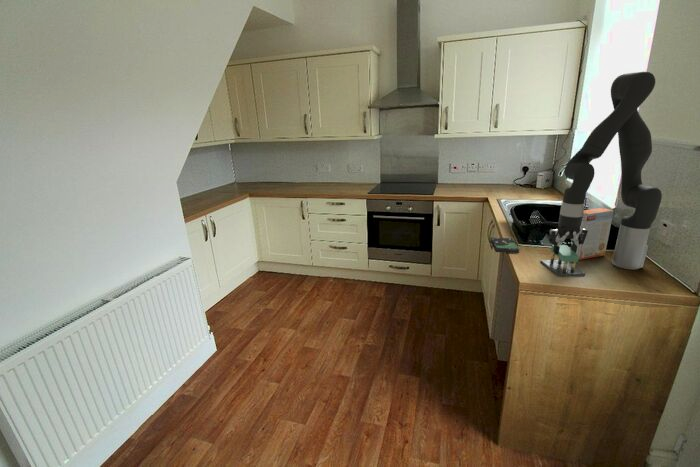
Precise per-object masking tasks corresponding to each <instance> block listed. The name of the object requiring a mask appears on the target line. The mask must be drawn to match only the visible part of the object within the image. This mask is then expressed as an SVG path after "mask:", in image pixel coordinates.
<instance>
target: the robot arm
mask: <svg viewBox="0 0 700 467" xmlns="http://www.w3.org/2000/svg"><path fill="white" fill-rule="evenodd" d="M655 86H656V77H655V75H654V74H653V73H652V72H649V71H637V72H629V73H623V74H619V75H618V76H617V77H615V79H614V80H613V82H612V83H611V87H610V97H611V102H612V105H613V110H612V112H611V113H610V114H609V115H607V117H606V118H604V119H603V120H602V121H601V122H600V123H598V125H597V126H596V127H595V128H593V130H592V131H591V132H590V133H589V135H588V137H587V139H586V140H585V142H584V143H583V145H582V147H581V148H580V149H579V150H578V151H577V152H576V153H575V154H574V155H573V156H572V157H571V158H570V160H569V161H568V162H567V163H566V165H565V167H564V171H563V172H564V173H563V174H564V176H565V177H566V178H567V179H569V180H572V183H571V185H570V186H568V187H566V188H565V190H564V192H563V198H562V204H561V206H560V210H559V218H558V226H557V228H556V229H552V228H550V229H549V230H548V235H549V236H548V242H549V243H550V244H551V245H554V248H553V251H552V253H554V254H556V255H558V253H559V249H560V245H562V243H563V242H565V240H569V239H570V241H571V242H572V243H573V244H571V243H570V244H571V245H570V248H571V249H572V250H573V251H574V252H575V253H576V251H577V246H578V245H579V244H583V243H584V241H585V238H586V235H587V233H588V231H587V230H586V229H584V228H582V229H580V226H581V223H582V217H583V212H584V210H585V201H586V196H587V193H588V190H589V188H590V186H591V184H592V182H593V179H594V177H595V174H596V173H595V167H594V166H593V164H591V162H592V161H593V160H596V159H599V158H601V157H602V156H603V154H604V153H605V151H606V150H607V148H608V147H609V145H610V144H611V142H612V140H613V139H614V137H616V135H617V136H618V150H619V157H620V169H621V170H620V171H621V182H620V183H621V184H620V185H621V186H620V187H621V189H620V190H621V191H620V197H621V201H622V203H623V204H624V205H625V206H627V207H629V208H632V209H634V211H633V212H634V213H633V215H625V216H623V217H622V218H621V220H620V226H619V229H618V234H617V239H616V242H615V243H616V244H615V247H614V252H613V255H612V260H611V264H612V265H613V266H615V267H617V268H621V269H624V270H631V271H633V270H634V271H635V270H639V269H641V268H643V267H644V264H645V260H646V257H647V252H648V249H649V246H648V244H647V242H648V238H649V234H650V231H651V227H652V224H653V222H654V221H655V220H656V218H657V215H658V211H659V208H660V206H661V203H662V198H663V197H662V196H663V194H662V191H661V189H659V188H658V187H656V186H655V187H654V186H650V185H645V184H643V182H642V170H643V168H644V166H645V165H646V164H647V162H648V160H650V159H649V158H650V157H651V155H652V152H653V145H652V144H653V143H652V140H653V139H652V134H651V131H650V129H649V127H648V125H647V124H646V122H645V121H644V119H643V118H642V116H641V115H640V112H639V107H640V106H641V105H643V103H644V102H645V101H646V100H647V98H649V96H650V95H651V93H652V92H653V91H654V88H655ZM578 233H580V234H579V236H578V238H577V234H578ZM556 255H555V256H556Z"/></svg>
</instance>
